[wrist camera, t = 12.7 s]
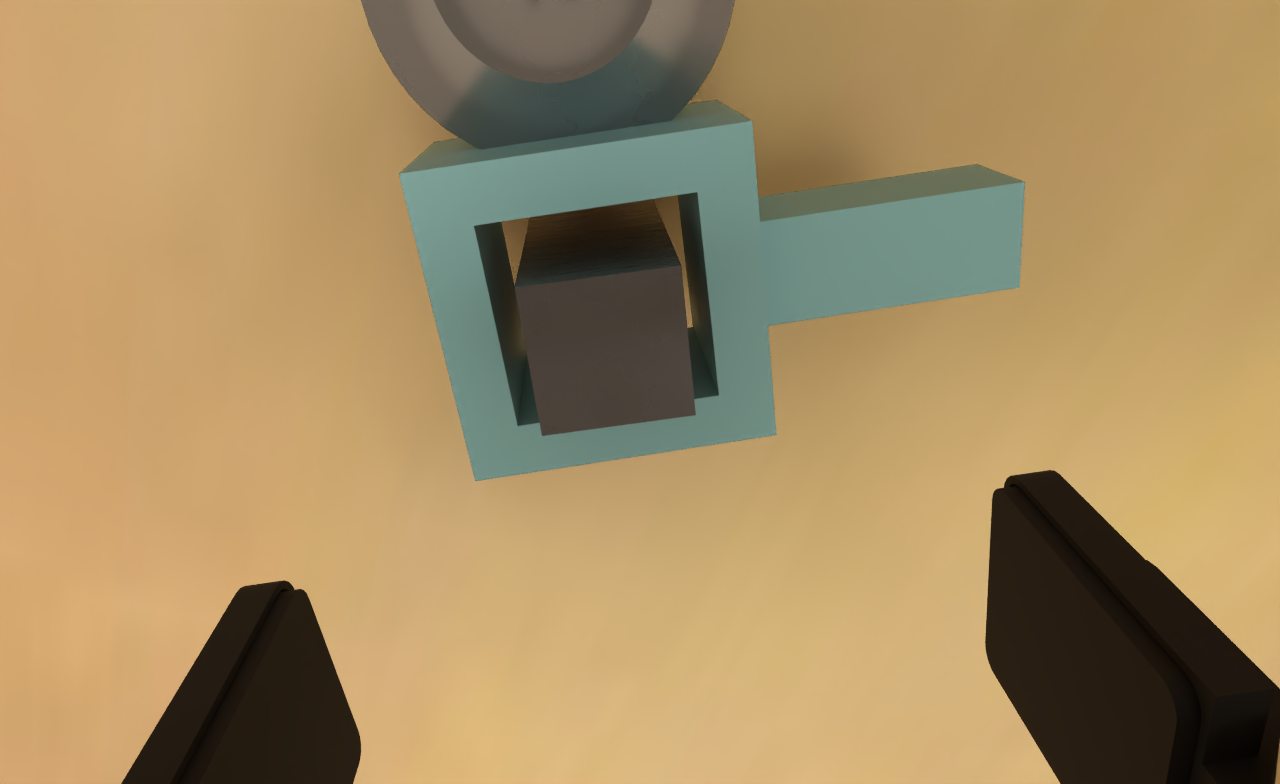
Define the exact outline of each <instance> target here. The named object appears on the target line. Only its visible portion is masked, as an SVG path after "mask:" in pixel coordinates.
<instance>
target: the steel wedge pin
mask: <svg viewBox="0 0 1280 784" xmlns="http://www.w3.org/2000/svg"><path fill="white" fill-rule="evenodd" d="M515 293H516V299H517V304H518V309H519V315H520V320H521V326H522V331H523V336H524V342H525V347H526V353H527V358H528V363H529V369H530V374H531V380H532V385H533V390H534V396H535V401H536V407H537V412H538V417H539V423H540V428H541V434H542V436H547V435H554V434H561V433H569V432H576V431H584V430H591V429H598V428H606V427H613V426H620V425H628V424H635V423H642V422H650V421H657V420H665V419H672V418H679V417H687V416H694V415H696V411H695V401H694V390H693V380H692V370H691V360H690V350H689V340H688V330H687V320H686V310H685V299H684V289H683V279H682V269H681V264H680V262H679V259H678V257H677V254H676V252H675V250H674V247H673V245H672V243H671V240H670V238H669V236H668V233H667V231H666V229H665V226H664V224H663V221H662V219H661V217H660V214H659V212H658V210H657V207H656V205H655V203H654V200H653V199H648V200H642V201H635V202H628V203H622V204H615V205H608V206H602V207H595V208H589V209H582V210H575V211H569V212H562V213H555V214H549V215H542V216H535V217H530V220H529V225H528V229H527V234H526V238H525V243H524V247H523V252H522V256H521V261H520V265H519V270H518V274H517V279H516V283H515Z"/></svg>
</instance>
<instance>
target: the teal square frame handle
mask: <svg viewBox="0 0 1280 784" xmlns="http://www.w3.org/2000/svg"><path fill="white" fill-rule="evenodd" d="M399 177H400V181H401V185H402V189H403V193H404V197H405V201H406V205H407V209H408V213H409V217H410V221H411V225H412V229H413V233H414V237H415V241H416V245H417V249H418V253H419V257H420V261H421V265H422V269H423V273H424V277H425V281H426V285H427V289H428V293H429V297H430V301H431V305H432V309H433V313H434V317H435V321H436V325H437V329H438V333H439V337H440V341H441V345H442V349H443V353H444V357H445V361H446V365H447V369H448V373H449V377H450V381H451V386H452V390H453V394H454V398H455V402H456V406H457V410H458V414H459V418H460V422H461V426H462V430H463V434H464V438H465V442H466V446H467V450H468V454H469V458H470V462H471V466H472V470H473V474H474V478H475V481H480V480H486V479H493V478H499V477H506V476H512V475H519V474H525V473H532V472H538V471H545V470H551V469H558V468H564V467H571V466H577V465H584V464H590V463H597V462H604V461H610V460H617V459H623V458H630V457H636V456H643V455H649V454H656V453H662V452H669V451H675V450H682V449H688V448H695V447H701V446H708V445H714V444H721V443H728V442H734V441H741V440H747V439H754V438H760V437H767V436H773V435H776V425H775V412H774V398H773V385H772V372H771V359H770V346H769V333H768V326H770V325H776V324H783V323H789V322H796V321H803V320H809V319H816V318H822V317H829V316H835V315H842V314H849V313H855V312H862V311H868V310H875V309H882V308H888V307H895V306H901V305H908V304H914V303H921V302H928V301H934V300H941V299H947V298H954V297H960V296H967V295H974V294H980V293H987V292H993V291H1000V290H1007V289H1013V288H1019V284H1020V265H1021V247H1022V228H1023V209H1024V190H1025V182H1024V181H1021V180H1018V179H1016V178H1013V177H1010V176H1008V175H1005V174H1002V173H999V172H997V171H994V170H991V169H989V168H986V167H983V166H980V165H978V164H975V165H968V166H962V167H955V168H948V169H942V170H935V171H928V172H922V173H915V174H908V175H902V176H895V177H889V178H882V179H875V180H869V181H862V182H855V183H849V184H842V185H835V186H829V187H822V188H815V189H809V190H802V191H796V192H789V193H782V194H776V195H769V196H762V197H758V189H757V176H756V163H755V150H754V137H753V124H752V120H750V119H748V118H746V117H745V116H743V115H741V114H740V113H738V112H736V111H735V110H733V109H731V108H730V107H728V106H726V105H724V104H723V103H721V102H719V101H718V100H713V101H706V102H699V103H692V104H686V106H685V107H684V108H683V109H682V110H681V111H680V112H679V113H678V114H677V115H676V116H675V117H674V118H673V119H672V120H671V121H668V122H662V123H655V124H648V125H642V126H635V127H628V128H622V129H615V130H608V131H601V132H595V133H588V134H581V135H575V136H568V137H561V138H555V139H548V140H541V141H535V142H528V143H521V144H515V145H508V146H501V147H494V148H488V149H480V148H478V147H475V146H473V145H471V144H469V143H467V142H465V141H464V140H462V139H461V138H458V139H451V140H445V141H438V142H434V143H433V144H431V145H430V146H429V147H428V148H427V149H426V150H425V151H424V152H423V153H421V154H420V155H419V156H418V157H417V158H416V159H415V160H414V161H413V162H411V163H410V164H409V165H408V166H407V167H406V168H405V169H404V170H403V171H401V172H400V173H399ZM675 195H678V201H679V210H680V218H681V227H682V236H683V244H684V253H685V261H686V270H687V279H688V287H689V296H690V305H691V313H692V322H693V327H691V328H687V330H688V340H689V350H690V360H691V370H692V380H693V390H694V401H695V411H696V415H694V416H687V417H679V418H672V419H665V420H657V421H650V422H642V423H635V424H628V425H620V426H613V427H606V428H598V429H591V430H584V431H576V432H569V433H561V434H554V435H547V436H542V434H541V428H540V423H539V417H538V412H537V407H536V401H535V396H534V390H533V385H532V380H531V374H530V369H529V363H528V358H527V353H526V347H525V342H524V336H523V331H522V326H521V320H520V315H519V309H518V304H517V299H516V293H515V287H514V282H513V277H512V272H511V267H510V262H509V257H508V253H507V248H506V243H505V238H504V233H503V228H502V223H501V222H502V221H509V220H515V219H522V218H529V217H535V216H542V215H549V214H555V213H562V212H569V211H575V210H582V209H589V208H595V207H602V206H608V205H615V204H622V203H628V202H635V201H642V200H648V199H655V198H662V197H668V196H675Z"/></svg>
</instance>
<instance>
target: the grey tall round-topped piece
mask: <svg viewBox="0 0 1280 784" xmlns="http://www.w3.org/2000/svg"><path fill="white" fill-rule="evenodd" d="M361 1H362V5H363V8H364V11H365V14H366V18H367V21H368V24H369V27H370V29H371V31H372V34H373V36H374V38H375V40H376V43H377V45H378V47H379V50H380V52H381V53H382V55H383V57H384V58H385V60H386V62H387V64H388V65H389V67H390V69H391V70H392V72H393V74H394V75H395V76H396V78H397V79H398V80H399V82H400V83H401V84H402V86H403V87H404V88H405V90H406V91H407V92H408V94H409V95H410V96H411V97H412V98H413V99H414V100H415V101H416V102H417V103H418V104H419V105H420V107H421V108H422V109H423V110H424V111H425V112H426V113H427V114H428V115H430V116H431V117H432V118H433V119H434V120H436V121H437V122H438V123H439V124H441V125H442V126H443V127H444V128H445V129H447V130H448V131H450V132H451V133H453V134H454V135H456V136H458V137H459V138H461V139H462V140H464V141H465V142H467V143H469V144H471V145H473V146H475V147H478V148H480V149H488V148H494V147H501V146H508V145H515V144H521V143H528V142H535V141H541V140H548V139H555V138H561V137H568V136H575V135H581V134H588V133H595V132H601V131H608V130H615V129H622V128H628V127H635V126H642V125H648V124H655V123H662V122H668V121H671V120H672V119H673V118H674V117H675V116H676V115H677V114H678V113H679V112H680V111H681V110H682V109H683V108H684V107H685V106H686V104H687V103H688V102H689V101H690V100H691V98H692V97H693V96H694V95H695V94H696V92H697V91H698V89H699V88H700V86H701V85H702V83H703V82H704V80H705V79H706V77H707V75H708V74H709V72H710V71H711V68H712V66H713V64H714V62H715V60H716V58H717V56H718V54H719V52H720V50H721V47H722V45H723V42H724V39H725V36H726V33H727V30H728V27H729V24H730V20H731V15H732V10H733V6H734V1H735V0H361Z"/></svg>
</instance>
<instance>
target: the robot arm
mask: <svg viewBox="0 0 1280 784" xmlns="http://www.w3.org/2000/svg"><path fill="white" fill-rule="evenodd" d="M985 643H986V653H987V657H988V661H989V664H990V666H991V669H992V671H993V673H994V674H995V676H996V678H997V679H998V681H999V683H1000V684H1001V686H1002V688H1003V689H1004V691H1005V693H1006V694H1007V696H1008V698H1009V699H1010V701H1011V703H1012V704H1013V706H1014V707H1015V709H1016V711H1017V712H1018V714H1019V716H1020V717H1021V719H1022V721H1023V722H1024V724H1025V726H1026V727H1027V729H1028V731H1029V732H1030V734H1031V736H1032V737H1033V739H1034V740H1035V742H1036V744H1037V745H1038V747H1039V749H1040V750H1041V752H1042V754H1043V755H1044V757H1045V759H1046V760H1047V762H1048V764H1049V765H1050V767H1051V769H1052V770H1053V772H1054V773H1055V775H1056V777H1057V778H1058V780H1059V782H1060V783H1061V784H1280V689H1279V688H1278V687H1277V686H1276V685H1275V684H1274V683H1273V682H1272V681H1271V680H1270V679H1269V678H1268V677H1267V676H1266V675H1265V674H1264V673H1263V672H1262V671H1261V670H1260V669H1259V668H1258V667H1257V666H1256V665H1255V664H1254V663H1253V662H1252V661H1251V660H1250V659H1249V658H1248V657H1247V656H1246V655H1245V654H1244V653H1243V652H1242V651H1241V650H1240V649H1239V648H1238V647H1237V646H1236V645H1235V644H1234V643H1233V642H1232V641H1231V640H1230V639H1229V638H1228V637H1227V636H1226V635H1225V634H1224V633H1223V632H1222V631H1221V630H1220V629H1219V628H1218V627H1217V626H1216V625H1215V624H1214V623H1213V622H1212V621H1211V620H1210V619H1209V618H1208V617H1207V616H1206V615H1205V614H1204V613H1203V612H1202V611H1201V610H1200V609H1199V608H1198V607H1197V606H1196V605H1195V604H1194V603H1193V602H1192V601H1191V600H1190V599H1188V598H1187V597H1186V596H1185V595H1184V594H1183V593H1182V592H1181V591H1180V590H1179V589H1178V588H1177V587H1176V586H1175V585H1174V584H1173V583H1172V582H1171V581H1170V580H1169V579H1168V578H1167V577H1166V576H1165V575H1164V574H1163V573H1162V572H1161V571H1160V570H1159V569H1158V568H1157V567H1156V566H1154V565H1153V564H1152V563H1150V562H1149V561H1148V560H1145V559H1144V558H1143V557H1142V556H1141V555H1140V554H1139V553H1138V552H1137V551H1136V550H1135V549H1134V548H1133V547H1132V546H1131V545H1130V544H1129V543H1128V542H1127V541H1126V540H1125V539H1124V538H1123V537H1122V536H1121V535H1120V534H1119V533H1118V532H1117V531H1116V530H1115V529H1114V528H1113V527H1112V526H1111V525H1110V524H1109V523H1108V522H1107V521H1106V520H1105V519H1104V518H1103V517H1102V516H1101V515H1100V514H1099V513H1098V512H1097V511H1096V510H1095V509H1094V508H1093V507H1092V506H1091V505H1090V504H1089V503H1088V502H1087V501H1086V500H1085V499H1084V498H1083V497H1082V496H1081V495H1080V494H1079V493H1078V492H1077V491H1076V490H1075V489H1074V488H1073V487H1072V486H1071V485H1070V484H1069V483H1068V482H1067V481H1066V480H1065V479H1064V478H1063V477H1062V476H1061V475H1060V474H1058V473H1057V472H1056V471H1052V470H1048V471H1041V472H1034V473H1027V474H1020V475H1014V476H1010V477H1008V478H1007V480H1006V482H1005V485H1004V488H999V489H996V490H995V491H994V493H993V498H992V516H991V537H990V558H989V579H988V599H987V620H986V641H985ZM360 755H361V741H360V735H359V732H358V729H357V726H356V724H355V721H354V718H353V715H352V713H351V710H350V707H349V705H348V702H347V699H346V697H345V694H344V691H343V689H342V686H341V683H340V681H339V678H338V675H337V673H336V670H335V667H334V664H333V662H332V659H331V656H330V654H329V651H328V648H327V646H326V643H325V640H324V638H323V635H322V632H321V630H320V627H319V624H318V621H317V619H316V616H315V613H314V611H313V608H312V605H311V603H310V600H309V598H308V596H307V593H306V592H305V591H304V590H302V589H297V590H294V588H293V586H292V585H291V584H290V583H289V582H287V581H277V582H270V583H264V584H257V585H250V586H244V587H242V588H240V589H239V590H238V592H237V593H236V594H235V596H234V598H233V599H232V601H231V603H230V604H229V606H228V608H227V609H226V611H225V613H224V614H223V616H222V618H221V619H220V621H219V623H218V624H217V626H216V628H215V629H214V631H213V632H212V634H211V636H210V637H209V639H208V641H207V642H206V644H205V646H204V647H203V649H202V651H201V652H200V654H199V656H198V657H197V659H196V661H195V662H194V664H193V666H192V667H191V669H190V671H189V672H188V674H187V676H186V677H185V679H184V681H183V682H182V684H181V686H180V687H179V689H178V691H177V692H176V694H175V696H174V697H173V699H172V701H171V702H170V704H169V706H168V707H167V709H166V711H165V712H164V714H163V715H162V717H161V719H160V720H159V722H158V724H157V725H156V727H155V729H154V730H153V732H152V734H151V735H150V737H149V739H148V740H147V742H146V744H145V745H144V747H143V749H142V750H141V752H140V754H139V755H138V757H137V759H136V760H135V762H134V764H133V765H132V767H131V769H130V770H129V772H128V774H127V775H126V777H125V779H124V780H123V782H122V784H353V782H354V778H355V775H356V772H357V768H358V765H359V761H360Z"/></svg>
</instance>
